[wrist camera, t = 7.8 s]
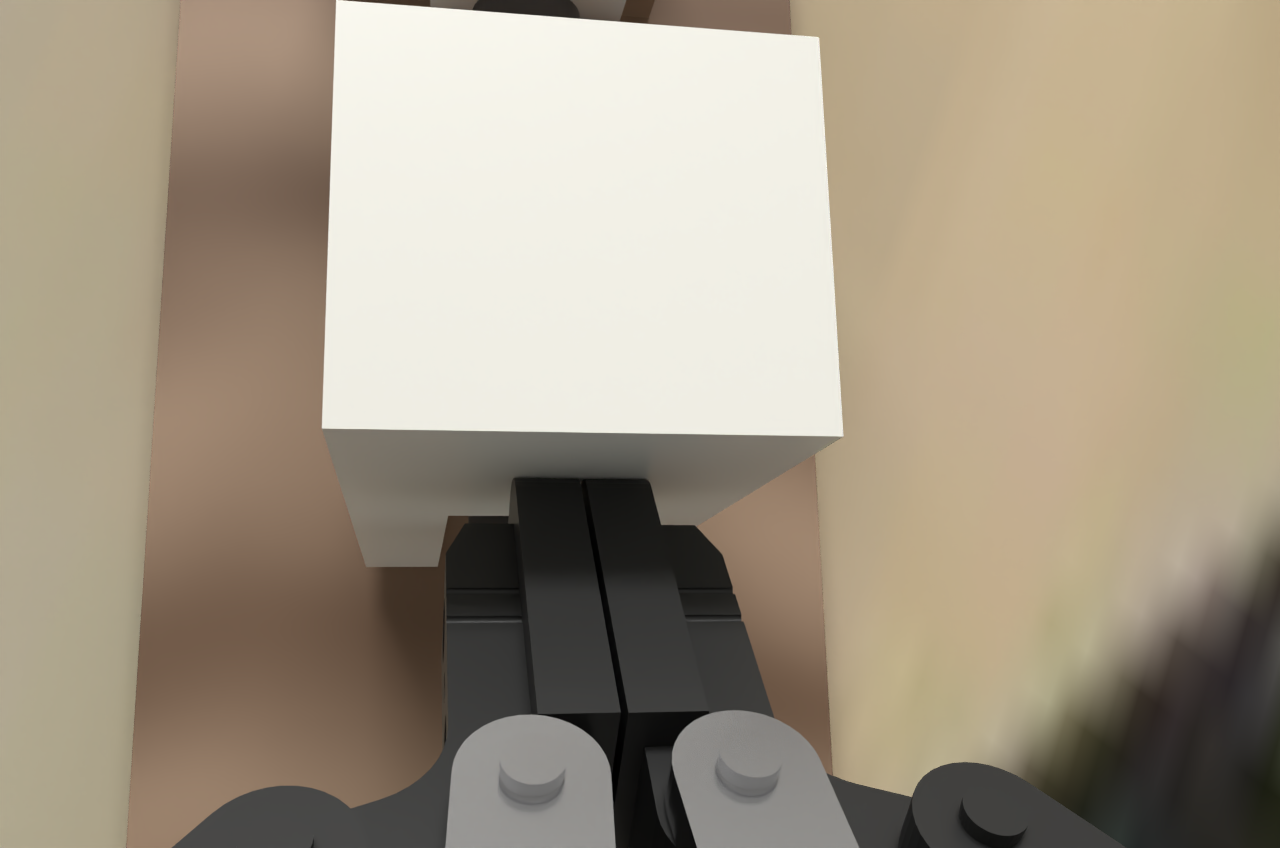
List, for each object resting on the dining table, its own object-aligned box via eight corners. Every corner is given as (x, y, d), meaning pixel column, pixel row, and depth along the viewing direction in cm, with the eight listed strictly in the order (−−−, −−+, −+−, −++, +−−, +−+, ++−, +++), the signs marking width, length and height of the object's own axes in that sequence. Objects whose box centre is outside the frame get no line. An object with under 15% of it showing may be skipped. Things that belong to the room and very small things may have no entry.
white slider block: (632, 565, 22) (843, 436, 11) (366, 566, 21) (322, 427, 10) (627, 348, 23) (818, 37, 12) (372, 341, 22) (336, 0, 11)
